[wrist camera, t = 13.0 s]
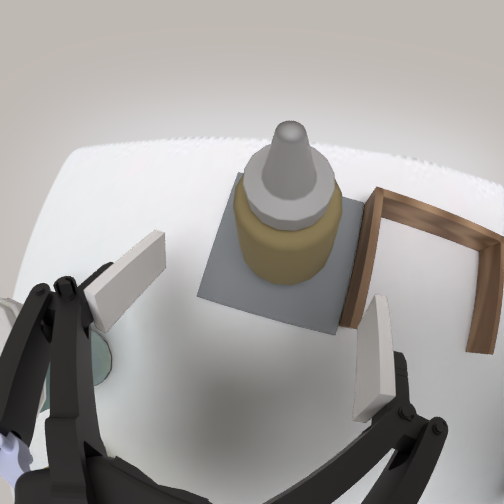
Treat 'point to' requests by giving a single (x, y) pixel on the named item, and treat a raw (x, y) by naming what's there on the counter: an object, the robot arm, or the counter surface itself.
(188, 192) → the counter surface
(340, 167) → the counter surface
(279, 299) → the slate mat
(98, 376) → the disposable coffee cup
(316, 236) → the squeeze bottle
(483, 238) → the walnut nook
